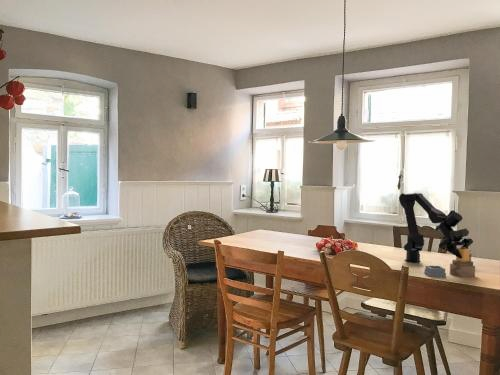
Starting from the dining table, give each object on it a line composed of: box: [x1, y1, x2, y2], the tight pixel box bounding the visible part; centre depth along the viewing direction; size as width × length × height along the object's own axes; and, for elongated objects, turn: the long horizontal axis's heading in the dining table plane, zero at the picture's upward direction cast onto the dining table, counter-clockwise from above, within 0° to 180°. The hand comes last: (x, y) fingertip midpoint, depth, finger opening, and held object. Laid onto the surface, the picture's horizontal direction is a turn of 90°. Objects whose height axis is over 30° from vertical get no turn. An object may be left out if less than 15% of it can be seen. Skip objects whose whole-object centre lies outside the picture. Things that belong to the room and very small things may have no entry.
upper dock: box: [449, 259, 476, 278], centre depth 219 cm, size 8×8×7 cm
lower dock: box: [424, 265, 447, 278], centre depth 216 cm, size 8×8×4 cm
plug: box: [457, 247, 471, 262], centre depth 219 cm, size 4×4×9 cm
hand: (465, 257), depth 218 cm, fingers open, 5 cm apart
